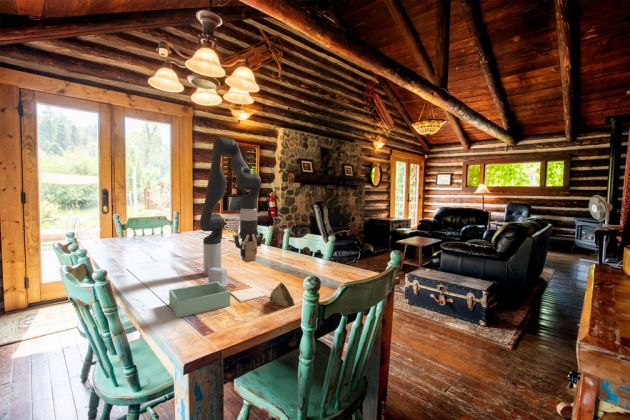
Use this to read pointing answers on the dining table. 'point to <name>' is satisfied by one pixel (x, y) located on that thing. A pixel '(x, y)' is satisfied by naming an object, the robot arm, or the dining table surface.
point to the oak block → (250, 251)
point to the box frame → (198, 298)
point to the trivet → (248, 294)
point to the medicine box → (218, 275)
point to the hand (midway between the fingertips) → (248, 256)
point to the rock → (282, 296)
